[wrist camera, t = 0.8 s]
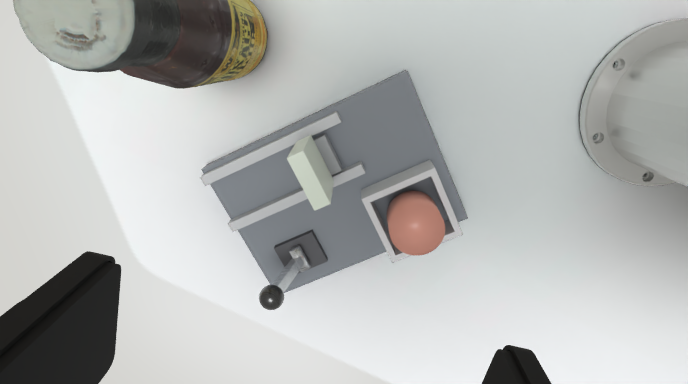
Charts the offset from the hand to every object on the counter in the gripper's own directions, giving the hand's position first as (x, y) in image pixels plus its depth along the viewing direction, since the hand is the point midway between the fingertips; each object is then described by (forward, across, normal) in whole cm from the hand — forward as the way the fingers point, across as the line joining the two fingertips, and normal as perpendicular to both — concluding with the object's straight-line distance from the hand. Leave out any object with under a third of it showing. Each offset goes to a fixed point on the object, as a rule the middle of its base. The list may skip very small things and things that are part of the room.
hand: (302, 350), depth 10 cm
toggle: (+23, +1, +10) cm, 26 cm away
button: (+23, -7, +4) cm, 24 cm away
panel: (+26, -1, +5) cm, 27 cm away
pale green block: (+24, +1, +2) cm, 24 cm away
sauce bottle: (+26, +10, -6) cm, 29 cm away
